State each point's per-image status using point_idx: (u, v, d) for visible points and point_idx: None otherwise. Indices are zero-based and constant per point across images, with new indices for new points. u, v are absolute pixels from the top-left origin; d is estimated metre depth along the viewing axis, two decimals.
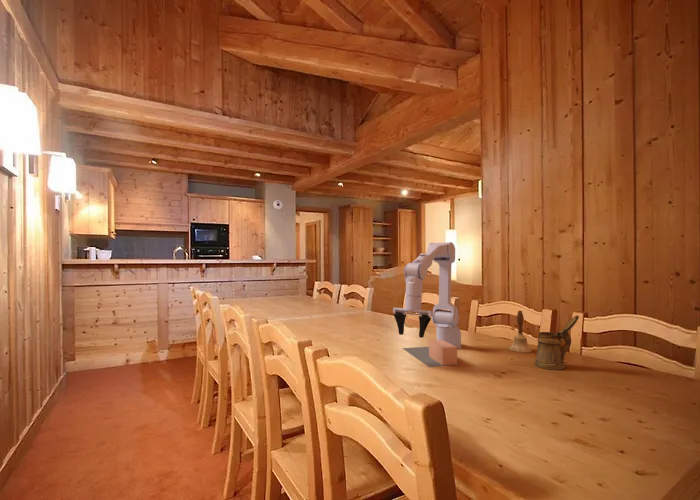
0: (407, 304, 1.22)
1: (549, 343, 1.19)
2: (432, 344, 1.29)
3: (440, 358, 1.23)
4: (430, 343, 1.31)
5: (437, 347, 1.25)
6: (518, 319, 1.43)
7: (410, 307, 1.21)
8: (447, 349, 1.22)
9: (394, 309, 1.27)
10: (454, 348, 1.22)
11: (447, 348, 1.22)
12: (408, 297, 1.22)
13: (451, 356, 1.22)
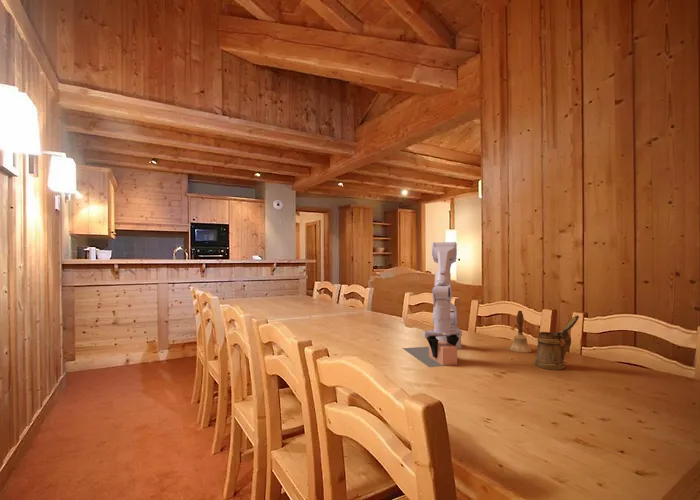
0: (443, 328, 1.25)
1: (549, 343, 1.19)
2: None
3: (440, 358, 1.23)
4: None
5: (437, 347, 1.25)
6: (518, 319, 1.43)
7: (447, 330, 1.25)
8: (447, 349, 1.22)
9: (426, 334, 1.25)
10: (454, 348, 1.22)
11: (447, 348, 1.22)
12: (444, 321, 1.25)
13: (451, 356, 1.22)
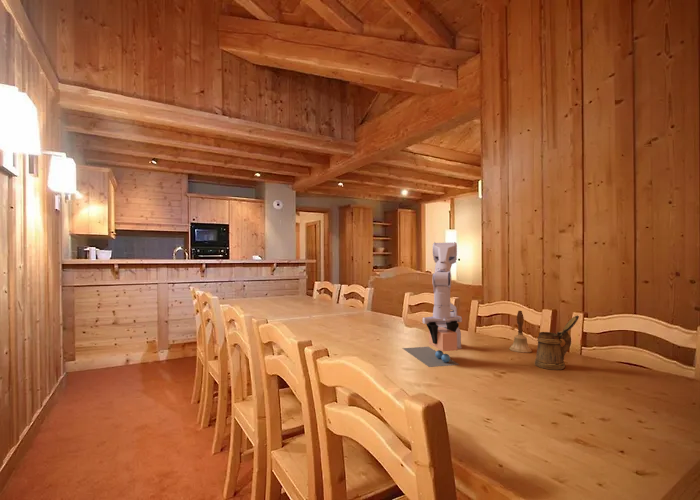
0: (443, 314, 1.25)
1: (549, 343, 1.19)
2: None
3: (440, 344, 1.23)
4: None
5: (437, 333, 1.26)
6: (518, 319, 1.43)
7: (446, 317, 1.25)
8: (447, 335, 1.22)
9: (426, 320, 1.25)
10: (454, 334, 1.23)
11: (447, 334, 1.22)
12: (444, 307, 1.25)
13: (451, 342, 1.22)
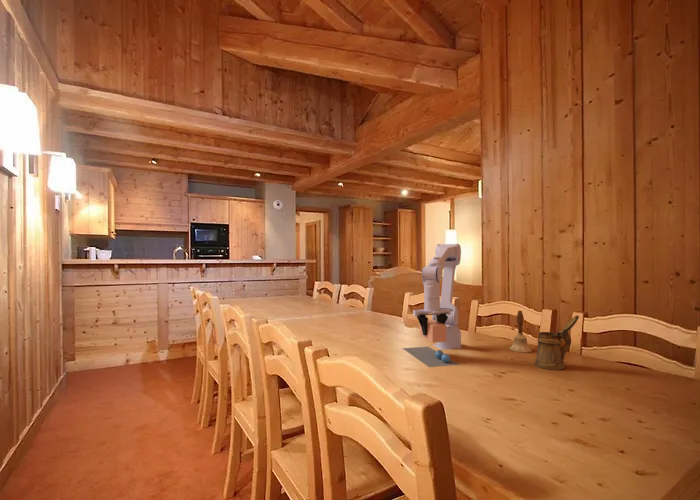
0: (433, 306, 1.29)
1: (549, 343, 1.19)
2: None
3: (430, 335, 1.27)
4: None
5: (427, 325, 1.30)
6: (518, 319, 1.43)
7: (436, 309, 1.30)
8: (437, 327, 1.26)
9: (416, 312, 1.30)
10: (443, 326, 1.27)
11: (437, 326, 1.26)
12: (433, 300, 1.29)
13: (440, 334, 1.27)
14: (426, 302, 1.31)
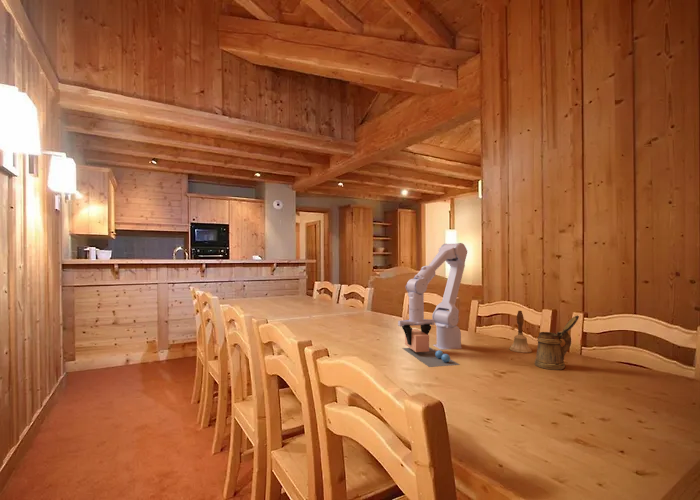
0: (417, 317, 1.37)
1: (549, 343, 1.19)
2: None
3: (414, 345, 1.35)
4: None
5: (411, 335, 1.37)
6: (518, 319, 1.43)
7: (420, 320, 1.37)
8: (420, 337, 1.33)
9: (401, 323, 1.37)
10: (426, 336, 1.34)
11: (420, 336, 1.33)
12: (417, 311, 1.37)
13: (423, 344, 1.34)
14: (410, 313, 1.38)
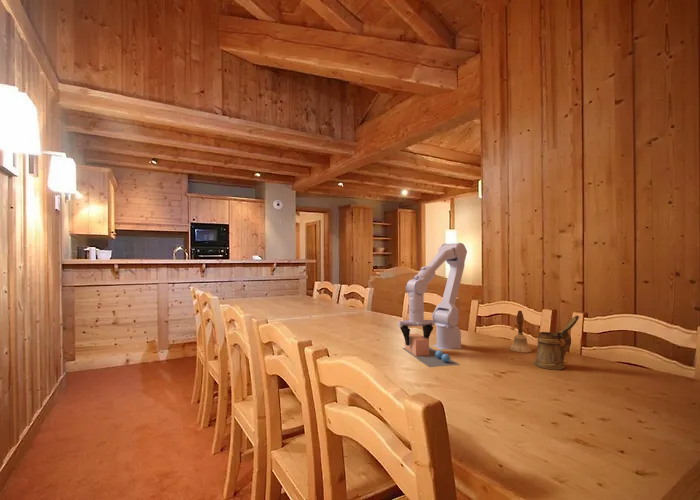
0: (417, 318, 1.37)
1: (549, 343, 1.19)
2: None
3: (414, 349, 1.35)
4: None
5: (411, 339, 1.37)
6: (518, 319, 1.43)
7: (420, 320, 1.37)
8: (420, 341, 1.33)
9: (401, 323, 1.37)
10: (426, 340, 1.34)
11: (420, 340, 1.34)
12: (417, 312, 1.37)
13: (423, 347, 1.34)
14: (410, 314, 1.38)
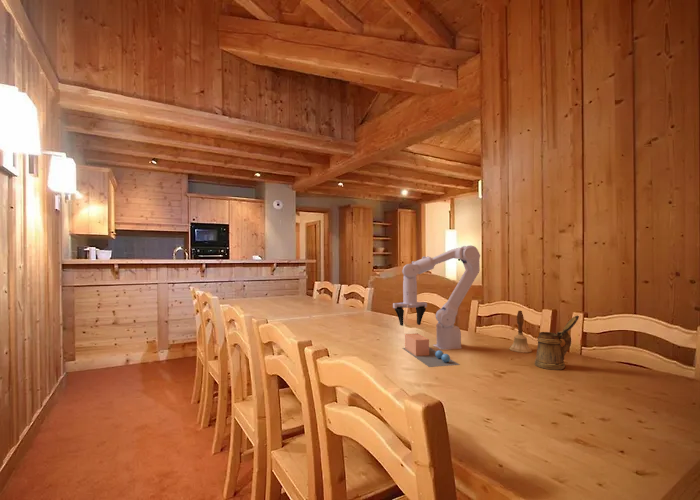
0: (410, 299, 1.46)
1: (549, 343, 1.19)
2: (407, 337, 1.41)
3: (414, 349, 1.35)
4: (406, 336, 1.43)
5: (411, 339, 1.37)
6: (518, 319, 1.43)
7: (413, 302, 1.46)
8: (420, 341, 1.33)
9: (396, 305, 1.46)
10: (426, 340, 1.34)
11: (420, 340, 1.34)
12: (411, 294, 1.46)
13: (423, 347, 1.34)
14: (404, 296, 1.47)
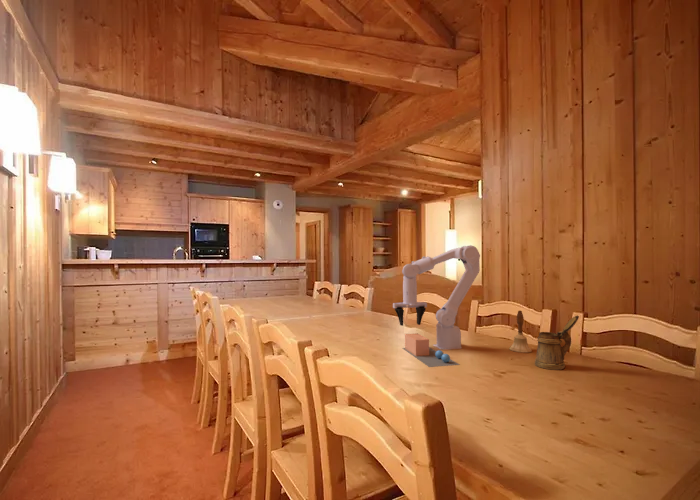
0: (410, 299, 1.46)
1: (549, 343, 1.19)
2: (407, 337, 1.41)
3: (414, 349, 1.35)
4: (406, 336, 1.43)
5: (411, 339, 1.37)
6: (518, 319, 1.43)
7: (413, 302, 1.46)
8: (420, 341, 1.33)
9: (395, 305, 1.46)
10: (426, 340, 1.34)
11: (420, 340, 1.34)
12: (411, 294, 1.46)
13: (423, 347, 1.34)
14: (404, 296, 1.47)
